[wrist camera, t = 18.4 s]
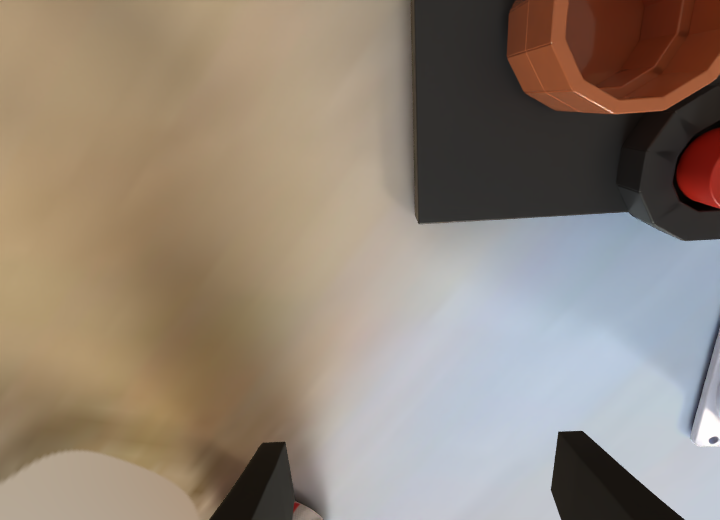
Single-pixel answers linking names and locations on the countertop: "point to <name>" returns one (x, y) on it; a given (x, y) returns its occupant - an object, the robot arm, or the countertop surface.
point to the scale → (537, 136)
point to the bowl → (613, 52)
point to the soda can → (304, 513)
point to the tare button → (701, 169)
